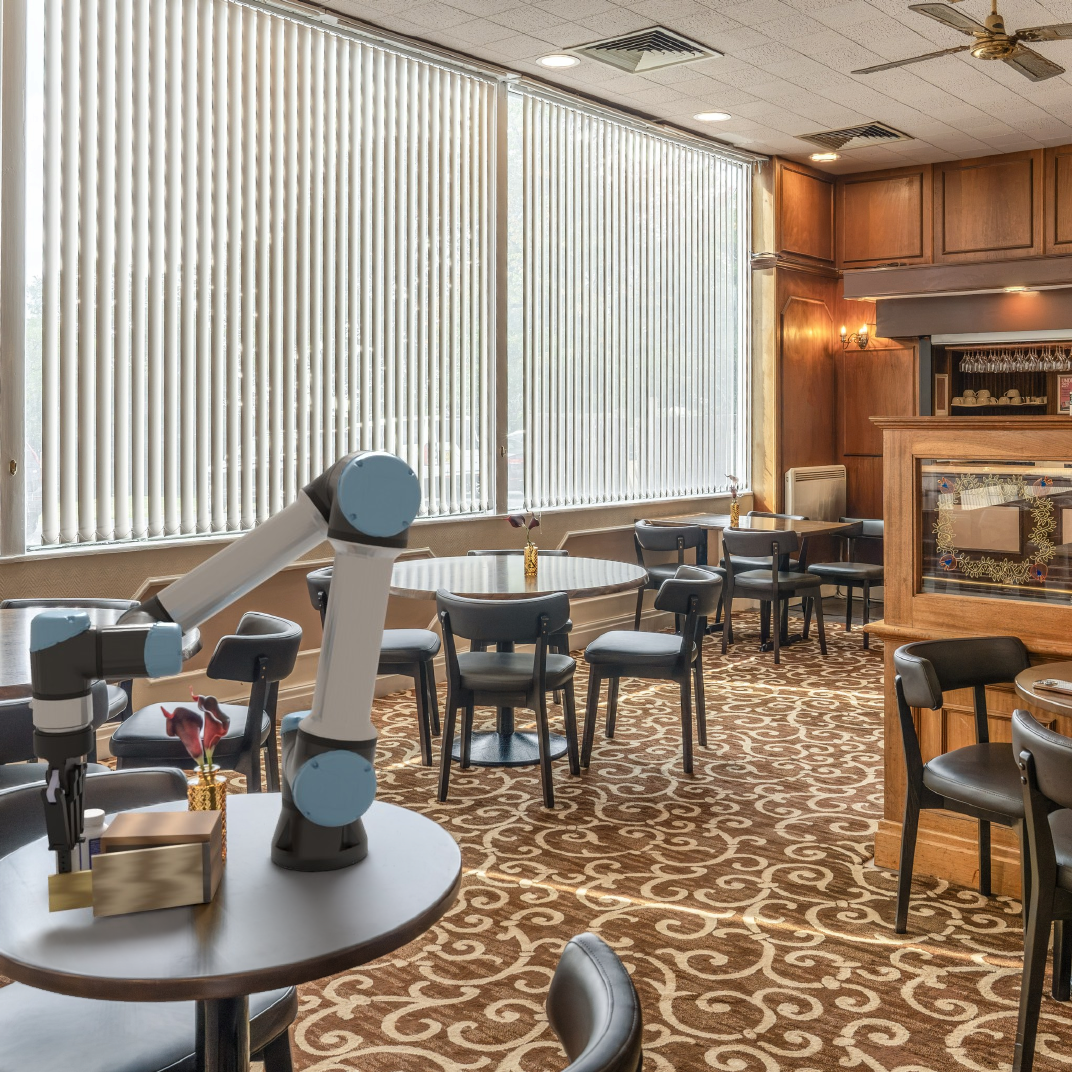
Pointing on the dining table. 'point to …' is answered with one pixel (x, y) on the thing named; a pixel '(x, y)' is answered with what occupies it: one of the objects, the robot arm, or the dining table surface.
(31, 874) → the dining table surface
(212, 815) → the case
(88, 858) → the pill bottle
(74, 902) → the door
